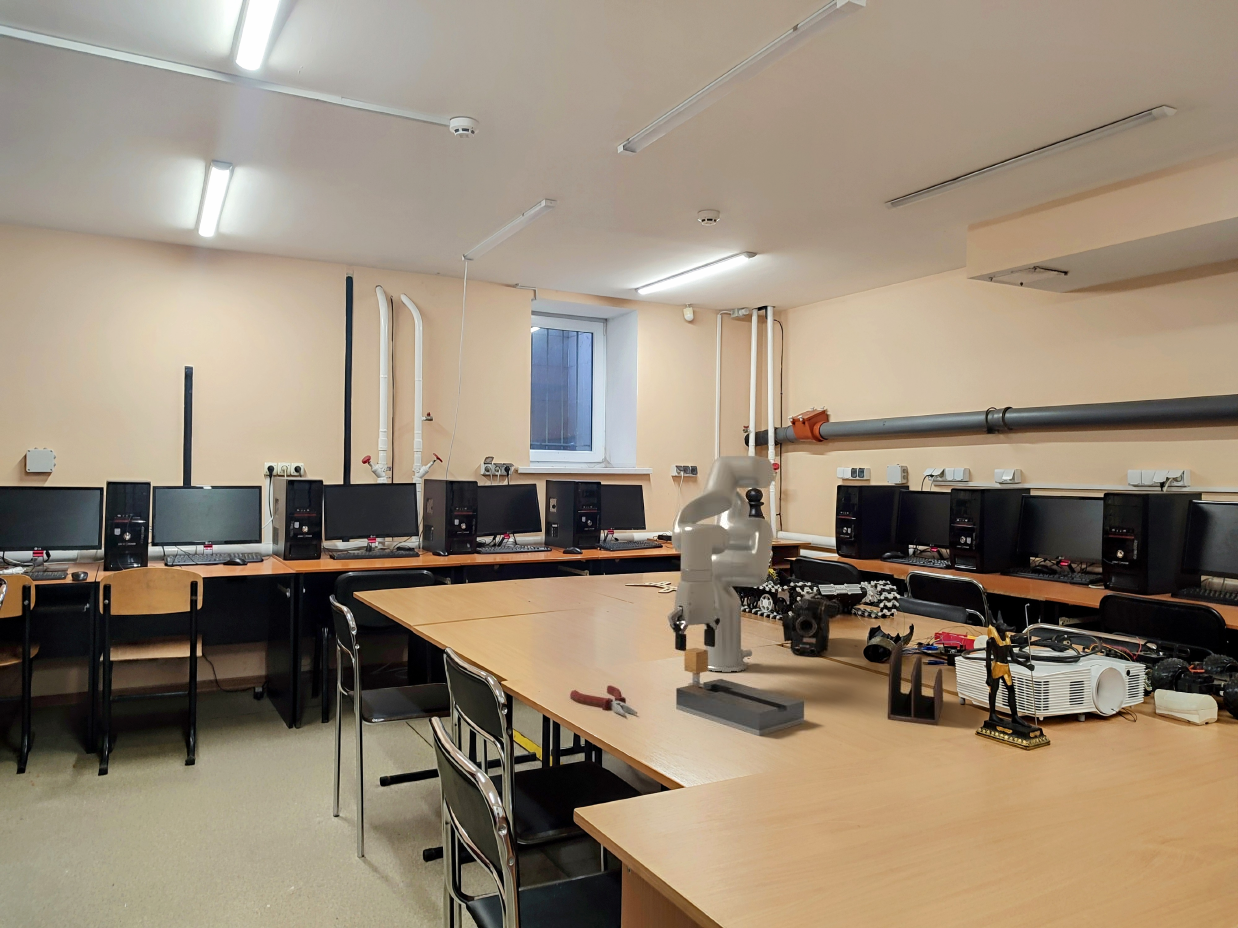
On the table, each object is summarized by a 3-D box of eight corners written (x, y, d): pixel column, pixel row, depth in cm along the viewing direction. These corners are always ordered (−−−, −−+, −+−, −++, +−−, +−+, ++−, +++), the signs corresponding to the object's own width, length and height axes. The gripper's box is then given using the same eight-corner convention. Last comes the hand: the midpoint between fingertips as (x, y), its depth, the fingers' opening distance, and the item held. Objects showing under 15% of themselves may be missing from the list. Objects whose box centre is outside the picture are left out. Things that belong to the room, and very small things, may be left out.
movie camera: (840, 659, 226) (837, 596, 227) (777, 656, 233) (775, 594, 235) (858, 643, 254) (855, 587, 255) (801, 641, 261) (799, 586, 263)
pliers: (607, 723, 170) (607, 710, 170) (568, 700, 188) (568, 688, 188) (654, 716, 175) (654, 704, 175) (612, 694, 193) (612, 683, 193)
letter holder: (887, 720, 172) (887, 653, 172) (897, 697, 190) (897, 637, 190) (937, 726, 168) (937, 658, 168) (943, 702, 186) (943, 641, 186)
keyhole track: (720, 698, 188) (720, 678, 188) (804, 722, 169) (804, 700, 170) (676, 708, 179) (676, 688, 179) (759, 735, 161) (759, 712, 161)
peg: (696, 686, 198) (696, 647, 199) (707, 689, 195) (708, 650, 196) (684, 689, 196) (684, 649, 196) (696, 692, 193) (696, 652, 193)
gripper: (710, 574, 204) (709, 642, 203) (659, 576, 193) (658, 649, 193) (732, 576, 198) (731, 646, 198) (680, 579, 188) (679, 654, 187)
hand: (695, 648), depth 195 cm, fingers open, 9 cm apart
